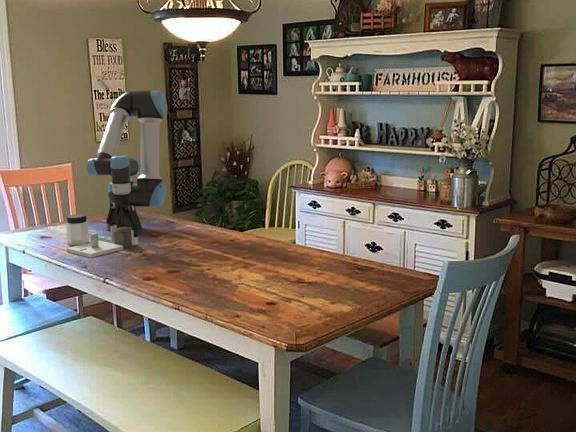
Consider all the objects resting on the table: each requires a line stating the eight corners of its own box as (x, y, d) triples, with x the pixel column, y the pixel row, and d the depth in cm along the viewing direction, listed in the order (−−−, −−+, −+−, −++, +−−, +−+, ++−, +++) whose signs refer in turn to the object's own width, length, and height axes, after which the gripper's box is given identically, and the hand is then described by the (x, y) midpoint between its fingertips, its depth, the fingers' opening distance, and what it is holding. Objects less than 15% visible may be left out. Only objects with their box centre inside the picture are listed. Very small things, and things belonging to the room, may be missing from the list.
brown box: (126, 242, 282) (125, 224, 281) (136, 244, 278) (135, 226, 277) (113, 245, 277) (112, 227, 276) (123, 247, 273) (122, 229, 272)
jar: (91, 243, 282) (89, 216, 279) (73, 246, 277) (71, 218, 274) (83, 239, 289) (81, 213, 286) (65, 242, 284) (63, 215, 281)
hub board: (99, 243, 280) (98, 228, 279) (123, 249, 271) (122, 232, 269) (66, 251, 268) (65, 235, 266) (90, 257, 258) (89, 240, 257)
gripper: (95, 191, 278) (98, 240, 282) (134, 196, 263) (137, 248, 267) (110, 189, 284) (113, 237, 288) (148, 194, 269) (151, 244, 273)
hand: (124, 242), depth 277 cm, fingers open, 13 cm apart
